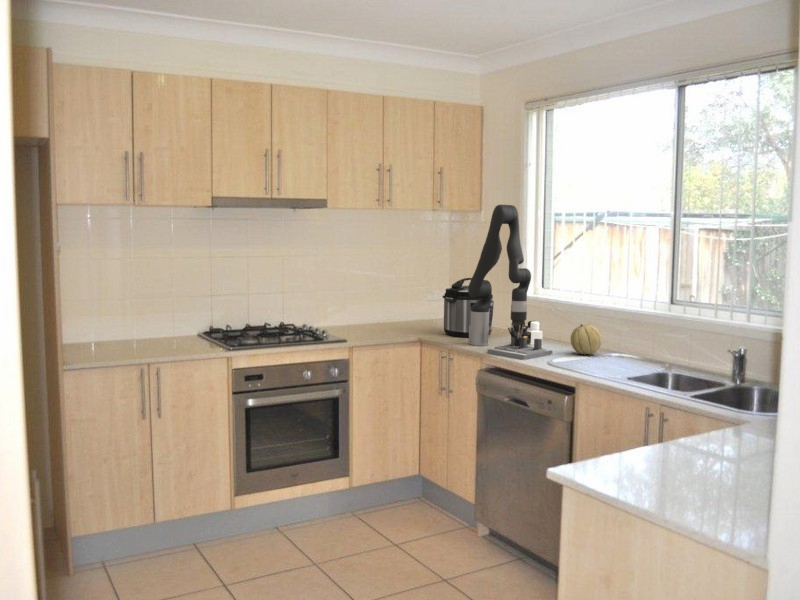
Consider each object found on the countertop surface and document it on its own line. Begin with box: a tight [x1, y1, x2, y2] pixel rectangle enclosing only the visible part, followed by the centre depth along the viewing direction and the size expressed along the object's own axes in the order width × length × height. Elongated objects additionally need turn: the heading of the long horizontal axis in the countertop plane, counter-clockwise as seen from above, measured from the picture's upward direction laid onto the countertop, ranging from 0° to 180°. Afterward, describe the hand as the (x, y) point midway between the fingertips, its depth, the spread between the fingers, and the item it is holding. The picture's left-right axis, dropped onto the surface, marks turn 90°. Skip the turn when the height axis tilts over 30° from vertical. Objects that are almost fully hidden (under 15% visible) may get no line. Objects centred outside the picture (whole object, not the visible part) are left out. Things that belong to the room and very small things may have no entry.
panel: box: [486, 343, 553, 361], centre depth 362 cm, size 22×22×3 cm
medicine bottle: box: [524, 320, 544, 346], centre depth 392 cm, size 7×7×12 cm
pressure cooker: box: [441, 277, 494, 338], centre depth 419 cm, size 30×28×32 cm
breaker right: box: [533, 338, 543, 351], centre depth 360 cm, size 3×3×6 cm
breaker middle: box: [519, 336, 528, 349], centre depth 364 cm, size 3×3×6 cm
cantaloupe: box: [570, 323, 603, 356], centre depth 363 cm, size 15×15×15 cm
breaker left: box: [509, 335, 515, 346], centre depth 370 cm, size 3×3×6 cm
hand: (517, 346), depth 361 cm, fingers closed
